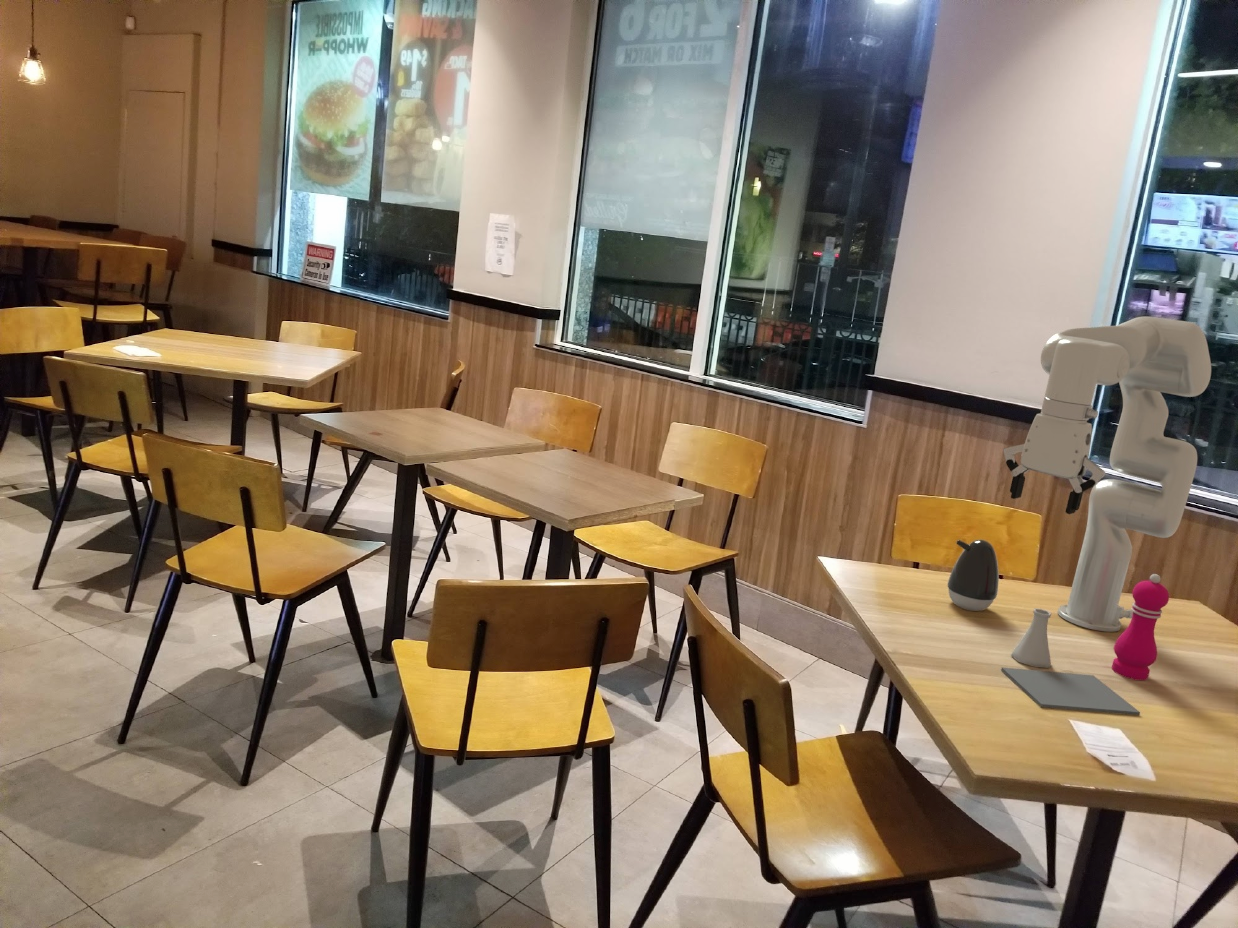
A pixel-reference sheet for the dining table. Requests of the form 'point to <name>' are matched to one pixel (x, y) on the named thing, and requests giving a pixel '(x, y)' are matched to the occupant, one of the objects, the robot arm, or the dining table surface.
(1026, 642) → the flask
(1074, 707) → the rubber mat
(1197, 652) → the dining table surface
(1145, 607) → the pepper mill
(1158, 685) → the dining table surface
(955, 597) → the pump dispenser
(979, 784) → the dining table surface
